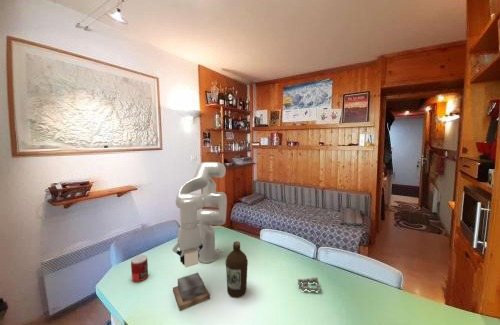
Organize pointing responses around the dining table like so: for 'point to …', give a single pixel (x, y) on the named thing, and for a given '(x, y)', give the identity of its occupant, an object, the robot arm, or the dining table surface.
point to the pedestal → (190, 291)
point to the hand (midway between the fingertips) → (190, 260)
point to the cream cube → (190, 257)
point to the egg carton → (305, 284)
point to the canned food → (139, 268)
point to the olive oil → (236, 272)
